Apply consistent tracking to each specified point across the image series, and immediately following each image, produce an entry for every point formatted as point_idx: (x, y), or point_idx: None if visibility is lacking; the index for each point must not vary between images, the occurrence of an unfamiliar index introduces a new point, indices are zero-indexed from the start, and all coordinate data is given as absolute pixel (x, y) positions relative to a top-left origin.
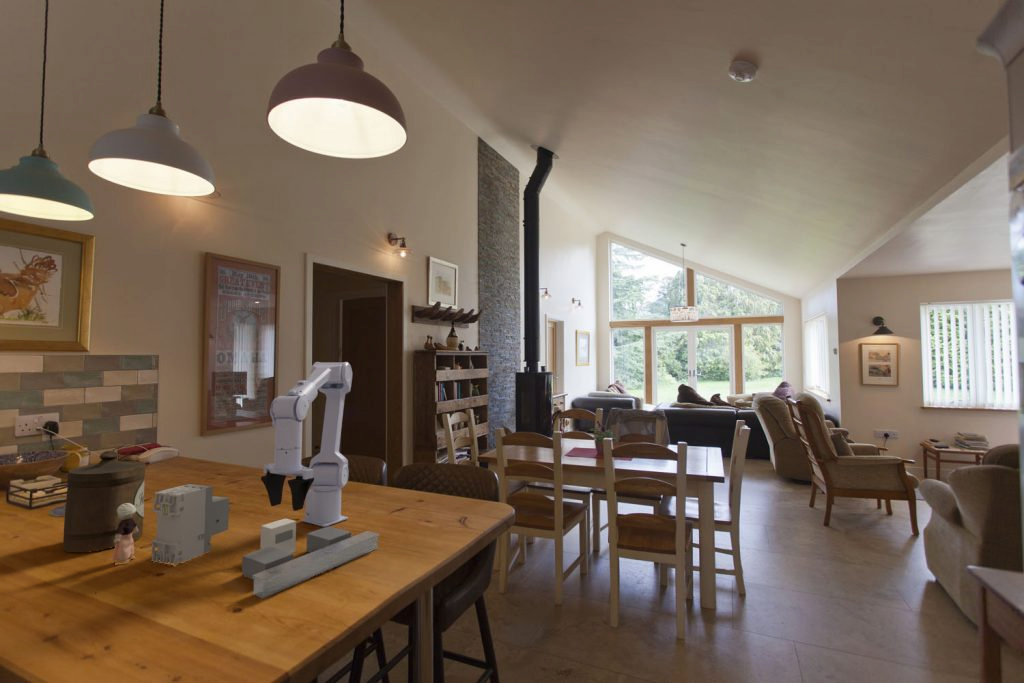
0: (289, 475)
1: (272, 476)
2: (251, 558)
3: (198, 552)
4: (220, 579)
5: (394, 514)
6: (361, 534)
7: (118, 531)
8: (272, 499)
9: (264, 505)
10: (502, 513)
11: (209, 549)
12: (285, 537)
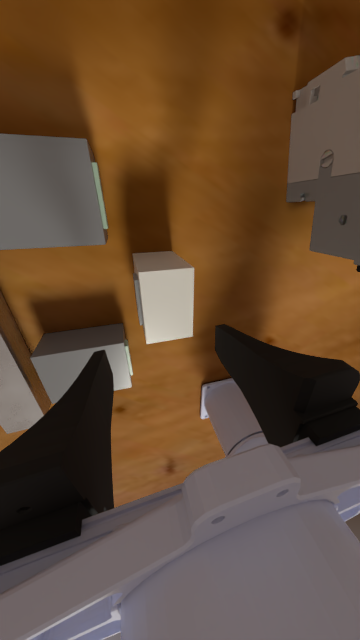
0: (176, 489)
1: (300, 414)
2: (34, 140)
3: (296, 165)
4: (115, 100)
5: (159, 459)
6: (33, 411)
7: None
8: (228, 337)
9: (354, 362)
10: None
11: (291, 198)
12: (136, 300)
